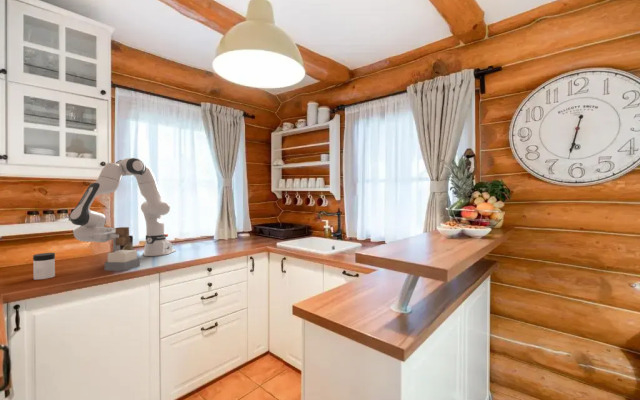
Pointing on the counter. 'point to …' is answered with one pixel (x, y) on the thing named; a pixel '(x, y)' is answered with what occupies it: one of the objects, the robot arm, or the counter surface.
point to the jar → (44, 265)
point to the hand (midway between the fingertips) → (123, 235)
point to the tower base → (122, 265)
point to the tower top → (122, 256)
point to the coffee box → (123, 247)
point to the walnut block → (122, 236)
